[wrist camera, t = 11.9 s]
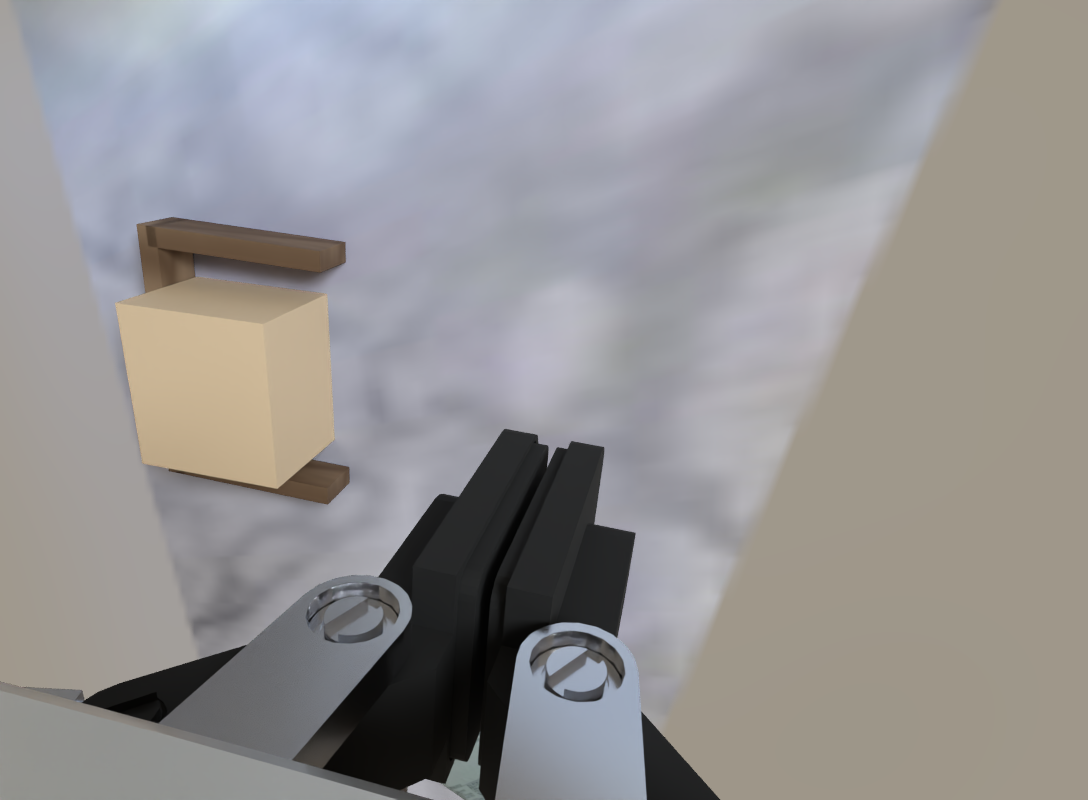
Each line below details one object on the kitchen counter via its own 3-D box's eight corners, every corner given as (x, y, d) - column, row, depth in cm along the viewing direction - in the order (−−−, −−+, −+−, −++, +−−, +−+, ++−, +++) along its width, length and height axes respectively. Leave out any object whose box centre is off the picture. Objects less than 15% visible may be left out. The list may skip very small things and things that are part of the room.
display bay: (172, 217, 44) (136, 224, 42) (345, 242, 42) (319, 251, 40) (198, 451, 51) (169, 470, 48) (349, 482, 49) (327, 504, 46)
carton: (198, 276, 46) (115, 302, 39) (328, 293, 44) (262, 324, 38) (216, 418, 50) (142, 463, 43) (335, 438, 48) (277, 488, 42)
